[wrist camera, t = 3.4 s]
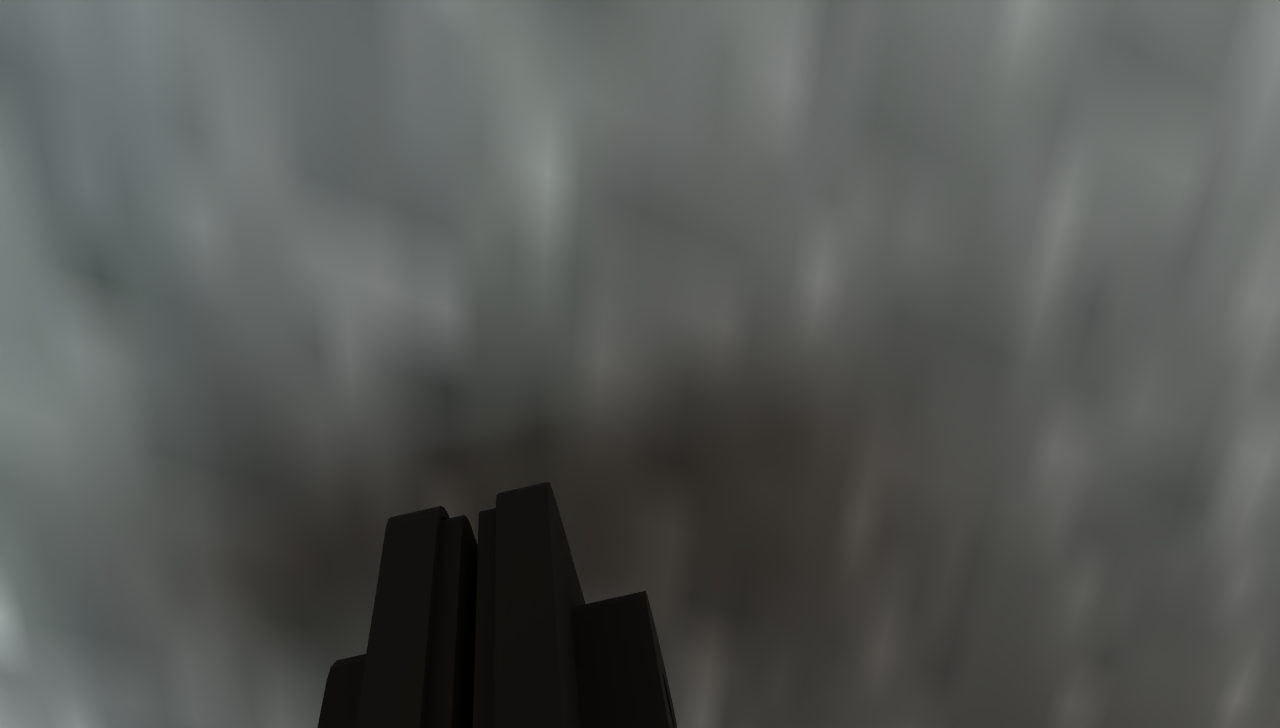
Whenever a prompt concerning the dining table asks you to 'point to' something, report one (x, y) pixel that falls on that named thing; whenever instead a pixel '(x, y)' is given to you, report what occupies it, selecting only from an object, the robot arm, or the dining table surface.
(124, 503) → the dining table surface
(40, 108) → the dining table surface
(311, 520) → the dining table surface
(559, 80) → the dining table surface
